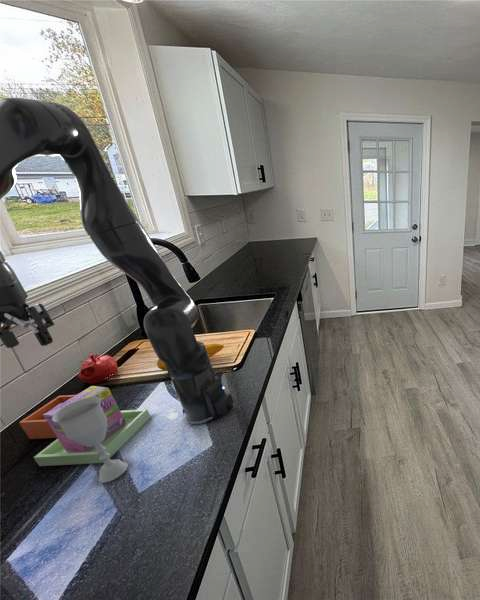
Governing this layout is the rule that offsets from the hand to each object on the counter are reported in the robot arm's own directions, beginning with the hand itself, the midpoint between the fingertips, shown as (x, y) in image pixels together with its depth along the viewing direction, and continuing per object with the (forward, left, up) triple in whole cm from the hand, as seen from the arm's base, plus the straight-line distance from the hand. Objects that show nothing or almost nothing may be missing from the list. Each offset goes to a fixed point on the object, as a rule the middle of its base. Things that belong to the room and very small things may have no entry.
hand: (30, 345), depth 78 cm
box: (-14, +8, -23) cm, 28 cm away
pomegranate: (+10, -20, -24) cm, 33 cm away
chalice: (-26, +18, -24) cm, 40 cm away
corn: (-18, -26, -24) cm, 40 cm away
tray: (-14, +8, -24) cm, 29 cm away
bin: (0, +1, -24) cm, 24 cm away
